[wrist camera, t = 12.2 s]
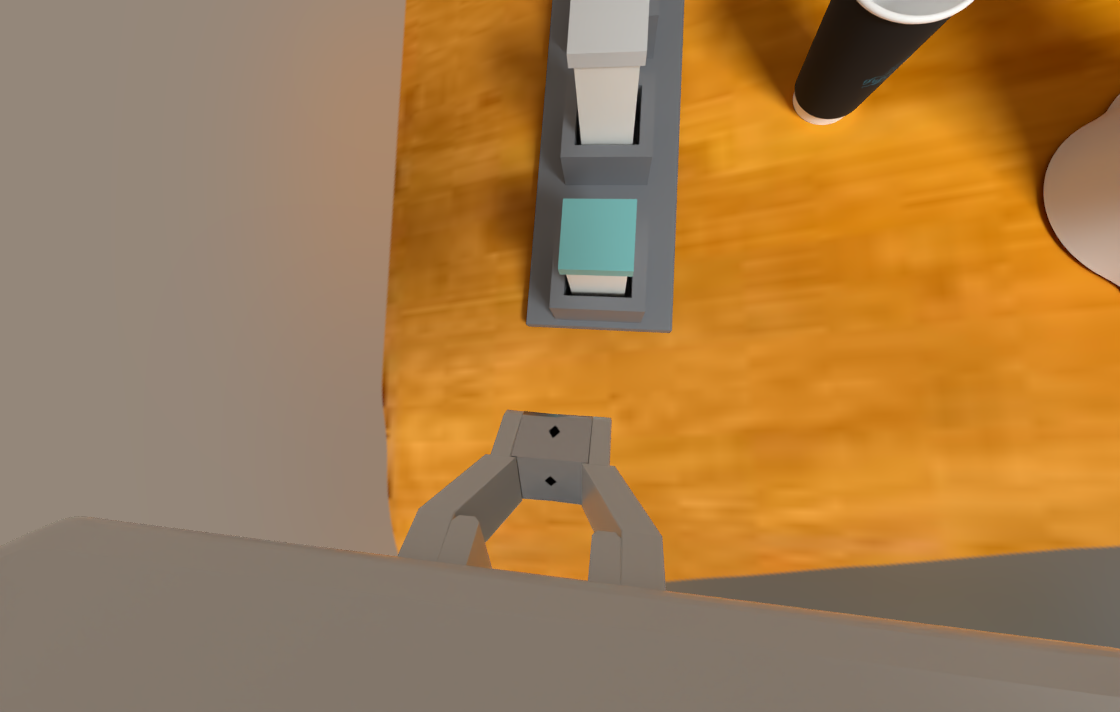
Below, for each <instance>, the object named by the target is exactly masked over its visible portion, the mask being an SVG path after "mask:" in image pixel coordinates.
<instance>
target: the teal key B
mask: <svg viewBox="0 0 1120 712" xmlns="http://www.w3.org/2000/svg"><path fill="white" fill-rule="evenodd" d="M636 213H637V199H563V206H562V219H561V233H560V247H559V260H558V271H559V274H562V275H566V276H567V279H568V282H569V285H570V289H571V292H572V295H573V296H595V297H622V298H624V295H625V288H626V282H627V277H633V272H634V253H635V233H636Z"/></svg>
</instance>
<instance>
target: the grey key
mask: <svg viewBox="0 0 1120 712" xmlns="http://www.w3.org/2000/svg"><path fill="white" fill-rule="evenodd" d="M648 20H649V0H571V2H570V16H569V29H568V42H567V62H568V68H574V74H575V84H576V94H577V104H578V115H579V125H580V135H581V145H632V144H633V134H634V123H635V113H636V102H637V92H638V81H639V71H640V66H645V64H646V55H647V40H648Z"/></svg>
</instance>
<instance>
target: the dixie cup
mask: <svg viewBox="0 0 1120 712" xmlns="http://www.w3.org/2000/svg"><path fill="white" fill-rule="evenodd" d="M973 1H974V0H831V1H830V3H829V6H828V8H827V10H826V13H825V15H824V17H823V20H822V22H821V24H820V27H819V29H818V31H817V34H816V36H815V38H814V41H813V43H812V45H811V48H810V50H809V52H808V55H807V57H806V59H805V62H804V64H803V66H802V69H801V71H800V73H799V76H798V78H797V80H796V83H795V91H794V94H793V106H794V108H795V111H796V112H797V114H798V115H799V116H800V117H801V118H802V119H804V120H805V121H807V122H810V123H813V124H817V125H826V124H831V123H834V122H836V121H838V120H840V119H841V118H843V117H844V116H846V115H848V114H849V113H851V112H852V111H853V110H855V109H856V108H857V107H858V106H859V105H860V104H861V103H862V102H863V101H864V100H865V99H866V98H867V97H868V96H869V95H870V94H871V93H872V92H873V91H874V90H875V89H876V88H878V87H879V86H880V85H881V84H882V83H883V82H884V81H885V80H886V79H887V78H888V77H889V76H890V75H891V74H892V73H893V72H894V71H895V70H896V69H897V68H898V67H899V66H900V65H901V64H902V63H903V62H905V61H906V60H907V59H908V58H909V57H910V56H911V55H912V54H913V53H914V52H915V51H916V50H917V49H918V48H919V47H920V46H921V45H922V44H923V43H924V42H925V41H926V40H927V39H928V38H929V37H930V36H931V35H933V34H934V33H935V32H936V31H937V30H938V29H939V28H940V27H941V26H942V25H943V24H944V23H945V22H946V21H947V20H948V19H949V18H950V17H951V16H952V15H954V14H956V13H958V12H960V11H961V10H963V9H964V8H965V7H967V6H968V5H969V4H970V3H972V2H973Z"/></svg>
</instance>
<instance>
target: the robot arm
mask: <svg viewBox="0 0 1120 712" xmlns="http://www.w3.org/2000/svg"><path fill="white" fill-rule="evenodd" d="M1044 204H1045V209H1046V213H1047V216H1048V219H1049V221H1050V224H1051V226H1052V228H1053V230H1054V232H1055V233H1056V235H1057V237H1058V238H1059V240H1060V241H1061V242H1062V244H1063V245H1064V246H1065V247H1066V249H1067V250H1068V251H1069V252H1070V253H1071V254H1072V255H1073V256H1074V257H1075V258H1076V259H1077V260H1079V261H1080V262H1081V263H1082V264H1084V265H1085V266H1086V267H1088V268H1089V269H1091V270H1092V271H1094V272H1095V273H1097V274H1099V275H1101V276H1103V277H1104V278H1106V279H1108V280H1110V281H1111V282H1113V283H1115V284H1116V285H1118V286H1119V287H1120V94H1119V95H1118V96H1117V97H1116V99H1115V100H1114V101H1113V103H1112V104H1111V105H1110V107H1109V108H1108V110H1107V111H1106V112H1105V113H1104V114H1103V115H1102V116H1100V117H1099V118H1097V119H1095V120H1094V121H1092V122H1090V123H1088V124H1086V125H1085V126H1083V127H1081V128H1080V129H1078V130H1077V131H1075V132H1074V133H1073V134H1072V135H1070V136H1069V137H1068V138H1067V139H1066V140H1065V141H1064V142H1063V143H1062V144H1061V146H1060V147H1059V148H1058V149H1057V151H1056V152H1055V154H1054V155H1053V157H1052V159H1051V161H1050V163H1049V166H1048V168H1047V171H1046V175H1045V180H1044ZM610 443H611V418H605V417H592V416H577V415H562V414H558V415H557V414H547V413H537V412H528V411H515V410H507V411H506V412H505V414H504V416H503V419H502V422H501V425H500V428H499V431H498V434H497V437H496V440H495V443H494V446H493V449H492V452H491V455H487V454H485V455H484V456H483V457H482V458H480V459H479V460H478V461H477V462H476V463H474V464H473V465H472V466H471V467H469V468H468V469H467V470H466V471H465V472H463V473H462V474H461V475H460V476H458V477H457V478H456V479H455V480H454V481H452V482H451V483H450V484H449V485H447V486H446V487H445V488H444V489H443V490H441V491H440V492H439V493H438V494H436V495H435V496H434V497H433V498H432V499H430V500H429V501H428V502H427V503H425V504H424V505H423V506H422V507H421V508H419V510H418V512H417V514H416V516H415V519H414V521H413V523H412V525H411V527H410V530H409V532H408V534H407V536H406V538H405V541H404V543H403V545H402V547H401V550H400V552H399V554H398V556H389V555H380V554H373V553H365V552H357V551H349V550H342V549H334V548H326V547H317V546H310V545H302V544H294V543H287V542H278V541H270V540H262V539H255V538H247V537H240V536H232V535H224V534H216V533H208V532H200V531H193V530H185V529H177V528H169V527H162V526H154V525H146V524H138V523H131V522H122V521H114V520H108V519H100V518H92V517H83V516H81V517H80V516H75V517H69V518H65V519H61V520H59V521H56V522H54V523H51V524H49V525H46V526H44V527H42V528H39V529H37V530H34V531H32V532H30V533H27V534H25V535H23V536H21V537H19V538H17V539H15V540H12V541H10V542H8V543H6V544H4V545H2V546H0V712H1120V649H1117V648H1111V647H1104V646H1096V645H1089V644H1081V643H1073V642H1065V641H1057V640H1049V639H1041V638H1033V637H1025V636H1017V635H1010V634H1001V633H994V632H986V631H978V630H971V629H963V628H955V627H946V626H939V625H931V624H923V623H915V622H908V621H900V620H892V619H884V618H876V617H868V616H859V615H853V614H845V613H836V612H829V611H821V610H813V609H805V608H797V607H790V606H782V605H773V604H766V603H758V602H749V601H742V600H734V599H726V598H719V597H711V596H703V595H695V594H687V593H679V592H671V591H666V589H665V588H666V587H665V572H664V557H663V542H662V536H661V534H660V533H659V531H658V530H657V528H656V527H655V525H654V524H653V522H652V521H651V519H650V518H649V516H648V515H647V513H646V512H645V510H644V509H643V507H642V506H641V504H640V503H639V501H638V500H637V498H636V497H635V496H634V494H633V493H632V491H631V490H630V488H629V487H628V485H627V484H626V482H625V481H624V479H623V478H622V476H621V475H620V473H619V472H618V470H617V469H616V467H615V466H609V465H610ZM522 499H535V500H548V501H557V502H565V503H573V504H580V505H582V507H583V509H584V512H585V514H586V516H587V518H588V520H589V522H590V524H591V526H592V528H593V530H594V534H593V535H592V543H591V554H590V565H589V576H588V581H585V580H578V579H570V578H562V577H554V576H546V575H539V574H531V573H523V572H515V571H507V570H499V569H492V567H491V563H490V560H489V556H488V552H487V549H486V545H485V542H486V541H487V540H488V539H489V538H490V537H491V536H492V534H493V533H494V532H495V531H496V530H497V529H498V527H499V526H500V525H501V524H502V523H503V522H504V521H505V519H506V518H507V517H508V516H509V515H510V514H511V513H512V511H513V510H514V509H515V508H516V507H517V506H518V505H519V503H520V502H521V501H522Z"/></svg>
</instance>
